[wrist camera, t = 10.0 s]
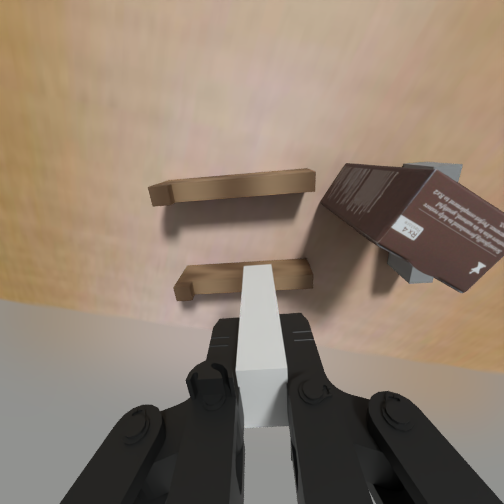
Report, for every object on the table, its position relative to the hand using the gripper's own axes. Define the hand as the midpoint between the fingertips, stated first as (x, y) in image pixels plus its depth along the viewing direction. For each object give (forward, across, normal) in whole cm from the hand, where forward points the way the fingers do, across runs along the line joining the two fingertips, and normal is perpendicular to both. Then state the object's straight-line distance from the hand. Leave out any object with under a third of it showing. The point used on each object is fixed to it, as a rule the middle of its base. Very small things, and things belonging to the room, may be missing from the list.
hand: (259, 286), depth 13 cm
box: (+12, +10, +2) cm, 15 cm away
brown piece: (+12, -2, 0) cm, 12 cm away
